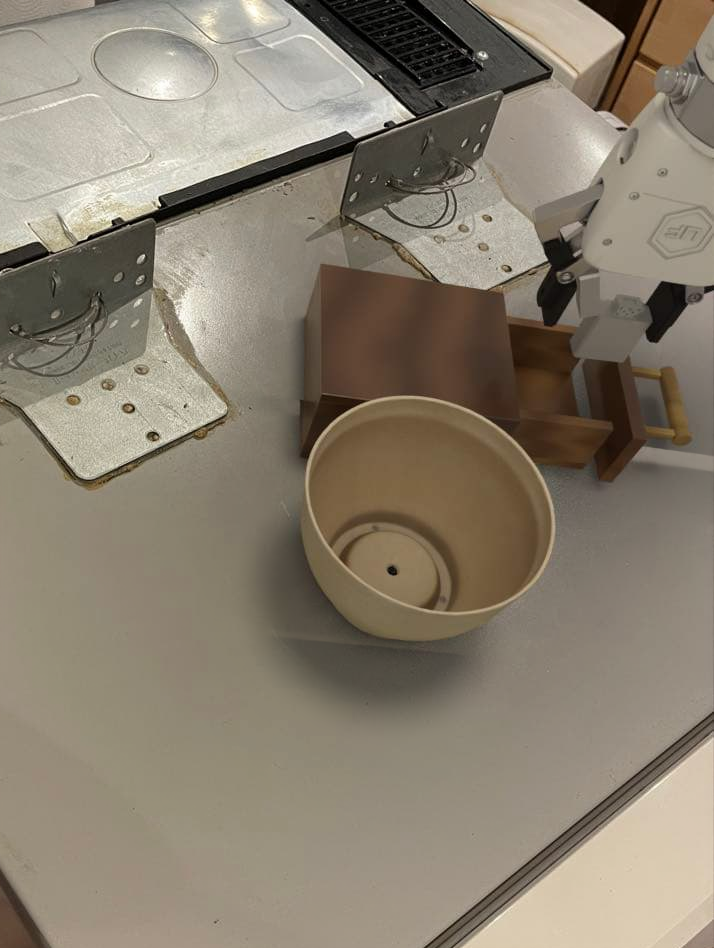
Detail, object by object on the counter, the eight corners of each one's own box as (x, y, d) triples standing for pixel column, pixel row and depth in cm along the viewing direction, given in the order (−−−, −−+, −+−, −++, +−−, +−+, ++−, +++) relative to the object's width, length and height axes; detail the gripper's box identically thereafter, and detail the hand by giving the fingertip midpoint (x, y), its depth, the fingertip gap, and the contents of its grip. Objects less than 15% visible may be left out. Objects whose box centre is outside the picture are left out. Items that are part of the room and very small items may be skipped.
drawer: (646, 380, 85) (682, 334, 80) (671, 490, 79) (711, 448, 74) (439, 349, 82) (462, 300, 77) (449, 462, 76) (475, 416, 71)
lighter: (620, 345, 74) (675, 267, 68) (624, 363, 73) (680, 285, 67) (532, 334, 73) (578, 253, 66) (535, 352, 72) (583, 272, 65)
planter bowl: (449, 473, 76) (502, 384, 67) (525, 663, 69) (595, 592, 60) (250, 497, 71) (277, 404, 62) (308, 705, 64) (349, 634, 55)
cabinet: (470, 356, 83) (503, 292, 77) (483, 480, 77) (521, 421, 70) (300, 331, 81) (320, 262, 74) (299, 457, 74) (321, 394, 68)
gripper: (606, 118, 52) (486, 342, 67) (894, 174, 55) (718, 377, 70) (586, 33, 56) (477, 263, 71) (856, 90, 59) (697, 299, 74)
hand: (598, 318), depth 71 cm, fingers closed on lighter, 7 cm apart
